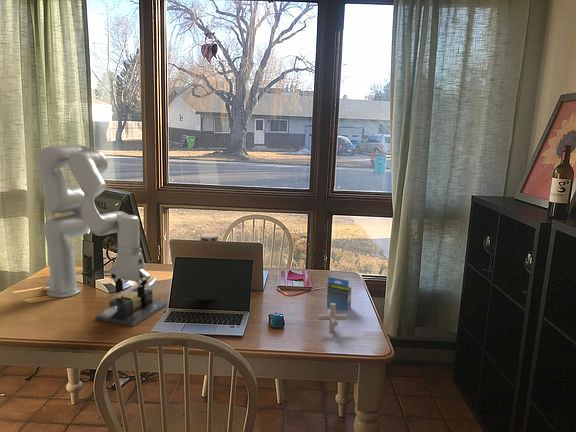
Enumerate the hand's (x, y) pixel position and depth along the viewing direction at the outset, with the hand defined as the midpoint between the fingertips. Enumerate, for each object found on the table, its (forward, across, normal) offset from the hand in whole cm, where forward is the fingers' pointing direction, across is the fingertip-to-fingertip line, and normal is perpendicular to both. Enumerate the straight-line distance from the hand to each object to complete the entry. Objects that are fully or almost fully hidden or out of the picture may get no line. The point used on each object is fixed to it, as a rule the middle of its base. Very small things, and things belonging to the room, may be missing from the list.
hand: (130, 293), depth 175 cm
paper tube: (+7, -18, -28) cm, 34 cm away
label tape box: (+6, -71, -35) cm, 79 cm away
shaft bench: (+7, -1, 0) cm, 7 cm away
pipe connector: (+5, -74, -13) cm, 75 cm away
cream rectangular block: (+7, -1, 0) cm, 7 cm away
